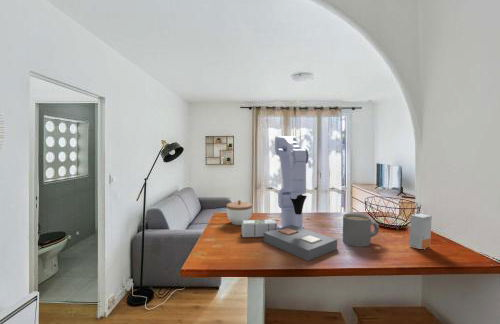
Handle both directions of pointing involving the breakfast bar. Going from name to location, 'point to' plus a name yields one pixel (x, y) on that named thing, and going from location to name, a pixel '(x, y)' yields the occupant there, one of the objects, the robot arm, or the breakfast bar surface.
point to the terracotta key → (288, 231)
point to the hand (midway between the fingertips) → (298, 214)
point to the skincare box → (420, 231)
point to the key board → (300, 242)
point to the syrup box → (257, 227)
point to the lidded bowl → (239, 211)
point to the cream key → (310, 239)
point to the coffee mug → (358, 229)
